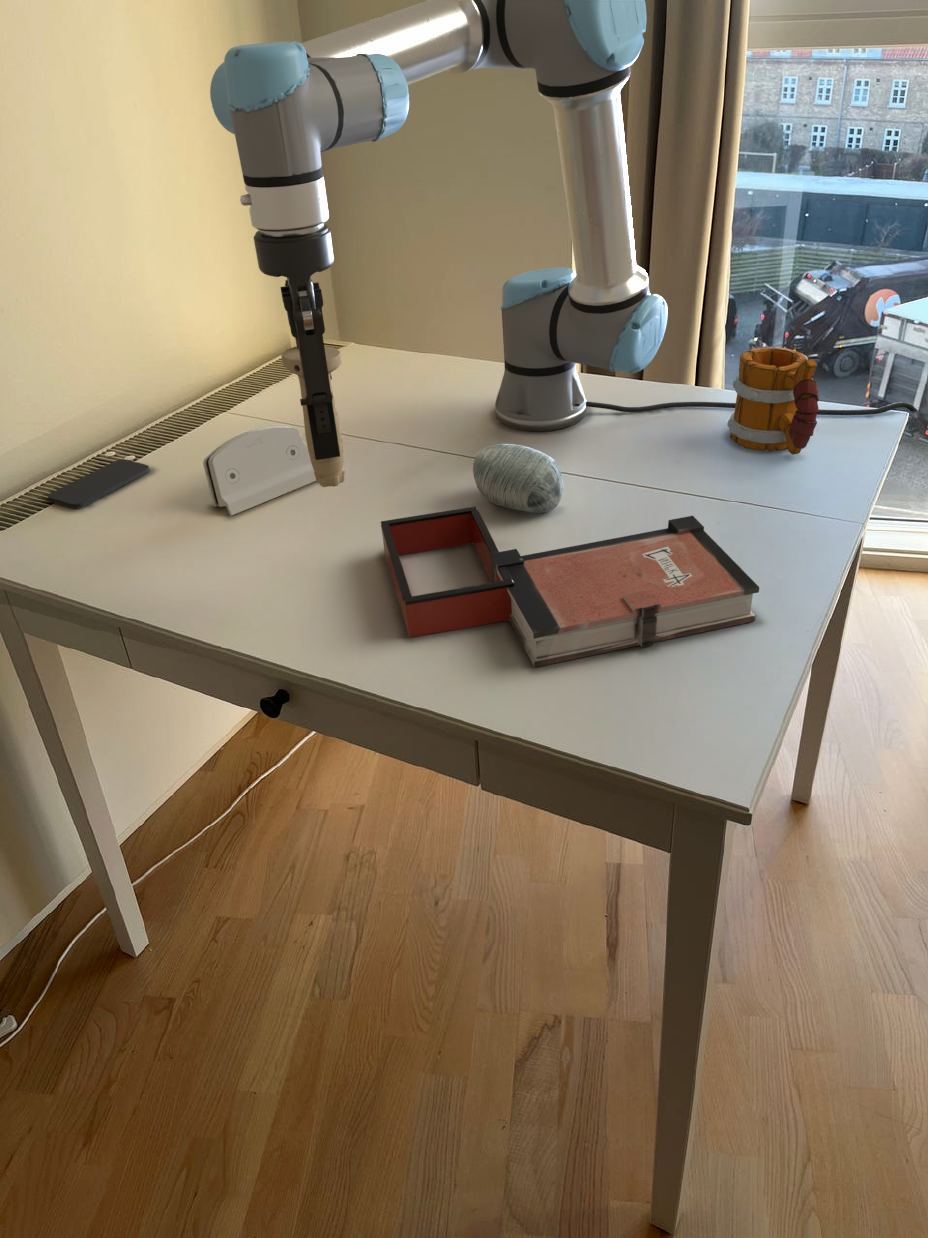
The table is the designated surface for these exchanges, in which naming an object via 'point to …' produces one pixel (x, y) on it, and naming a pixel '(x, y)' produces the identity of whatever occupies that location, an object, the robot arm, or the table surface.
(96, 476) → the phone
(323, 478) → the handle
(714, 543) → the book
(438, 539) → the red black rectangular frame
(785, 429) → the mug
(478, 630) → the table surface
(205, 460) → the white piece
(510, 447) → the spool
